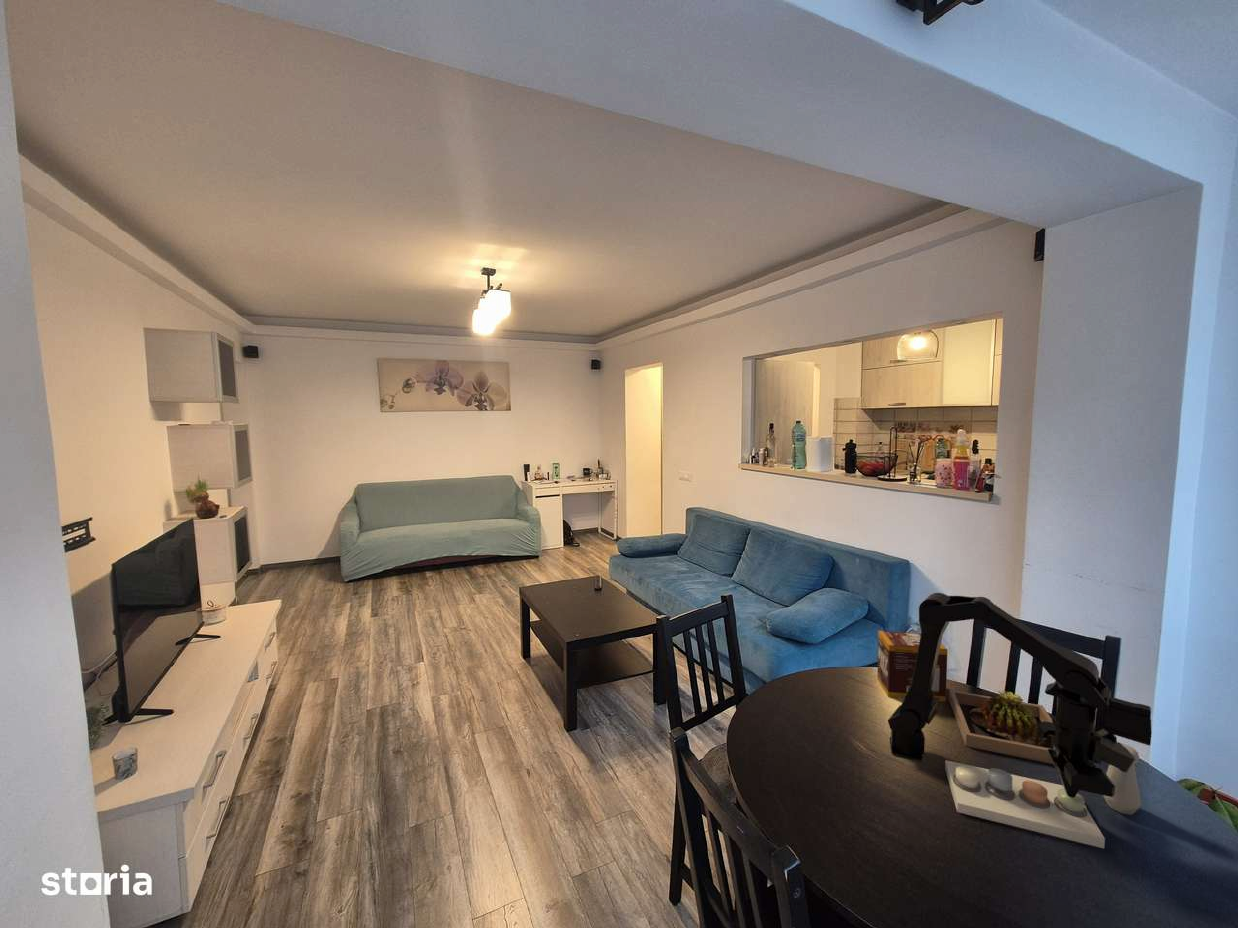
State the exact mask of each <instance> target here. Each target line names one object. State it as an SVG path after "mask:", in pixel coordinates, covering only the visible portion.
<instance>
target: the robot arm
mask: <svg viewBox="0 0 1238 928" xmlns="http://www.w3.org/2000/svg"><path fill="white" fill-rule="evenodd" d="M970 620H978V621H980V622H982V623H983V624H984V625H986V626H988V627H989V628H990V629H992V630H993V631H995V632H996V633H998V634H999V635H1000V636H1002V637H1004V638H1005V639H1006V640H1008V641H1009V642H1011V643H1012V645H1013V644H1014V645H1015V646H1016V647H1018V648H1019V649H1021V650H1023V652H1025V653H1027V654H1028V655H1030V656H1031V657H1032V658H1034V659H1035V660H1036V661H1037V662H1038V663H1039V664H1040V665H1041V666H1042V667H1043V669H1044V670H1045V671H1046V672H1047V674H1049V675H1050V677H1051V678H1053V679H1054V682H1051V683H1048V684H1047V685H1046V687H1045V690H1044V693H1045V695H1049V696H1052V697H1055V698H1056V713H1055V714H1056V715H1055V716H1052V717H1051V719H1052V722H1053V723H1051V722H1046V721H1043V722H1040V723H1039V724H1038V733H1039V736H1040V738H1042V739H1044V740H1046V739H1047V734H1049V735H1052V736H1051V745H1052V746H1053V747H1052V748H1050V749H1048V752H1049V754H1050V756H1051V759H1052V761H1053V763H1054V764H1053V765H1054V768H1055V770H1056V772H1057V775H1058V777H1059V780H1060V781H1061V785H1063V787H1064V789H1065V792H1066V794H1067V795H1068V796H1069V797H1075V796H1076V794H1077V793H1078V794H1079V791H1083V792H1087V793H1091V794H1097V795H1101V796H1103V795H1105V796H1109V797H1113V796H1114V795H1115V785H1114V784H1113V783H1112V781H1111V780H1110V779H1109V777H1108V776H1107V774H1106V773H1107V772H1105V771H1104V770H1102V768H1100V767H1099V768H1098V767H1096V765H1095V764H1099V765H1101V764H1102V761H1103V762H1104V763H1106V764H1108V765H1109V764H1110V765H1112V766H1114V767H1116V768H1118V769H1119V770H1120V771H1123V772H1125V773H1127V771H1128V770H1129V768H1130V767H1131V765H1132V764H1133V762H1134V761H1135V758H1134V757H1133V756H1132V754H1131V753H1130V752H1129V751H1128V750H1127V749H1126V748H1125V747H1124V746H1123V745H1122V744H1121V743H1122V742H1119V741H1118V740H1117V737H1120V738H1123V739H1127V740H1130V741H1133V742H1136V743H1140V744H1143V745H1146V746H1151V743H1152V733H1153V732H1152V719H1151V716H1152V707H1151V706H1149V705H1146V704H1142V703H1135V702H1130V701H1127V700H1123V699H1120V698H1116V697H1113V696H1112V691H1111V690H1110V689H1109V687H1108V686H1107V685H1106V683H1105V682H1104V680H1103V679H1102V678H1101V677H1100V672H1099V667H1098V665H1096V663H1095V662H1094V661H1092V659H1090V658H1088V657H1087V656H1084V655H1082V654H1080V653H1078V652H1077V651H1074V650H1072V649H1070V648H1068V647H1065V646H1061V645H1059V644H1056V643H1054V642H1052V641H1050V640H1049V639H1047V638H1046V637H1044V636H1042V635H1041V634H1040V633H1038V632H1036V631H1035V630H1033V629H1032V628H1031V627H1029V626H1027V625H1026V624H1025V623H1023V622H1022V621H1020V620H1019V619H1017V618H1016V617H1014V616H1013V615H1011V614H1010V613H1008V612H1006V611H1005V610H1004V609H1002V608H1001V607H999V606H997V605H996V604H994V603H993V602H992V601H991V599H989V598H987V597H985V596H964V595H947V594H945V593H942V592H933V593H932V594H930V595H929V596H927V597H925V599H924V600H923V601H922V602H921V603H920V604H919V606H918V625H919V627H920V633H921V637H920V642H919V647H918V652H917V657H916V662H915V667H914V672H913V678H912V683H911V687H910V689H909V691H908V693H907V695H906V696H905V698H903V701H902V703H901V704H900V705H898V707H897V708H896V710H895V711H893V714H892V715H891V716H889V718H888V719H887V724H888V726H889V729H890V737H889V744H890V752H891V754H892V755H895V756H899V757H904V758H908V759H913V760H918V761H923V760H924V757H923V755H924V754H925V745H926V743H925V741H926V737H925V734H924V732H923V729H924V728H926V725H927V724H928V725H930V724H931V722H932V720H933V719H934V718H935V716H936V714H937V713H938V710H937V705H938V703H939V702H940V701H939V698H938V697H934V696H933V694H932V684H933V679H934V674H935V670H936V665H937V660H938V655H939V650H940V645H941V644H942V641H943V636H944V634H945V631H946V630H947V628H948V626H949V623H950V622H961V621H970ZM1097 709H1098V710H1101V711H1100V726H1104V728H1102V729H1100V730H1098V731H1096V722H1097V721H1096V719H1097Z"/></svg>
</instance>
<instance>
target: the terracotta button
mask: <svg viewBox="0 0 1238 928" xmlns="http://www.w3.org/2000/svg"><path fill="white" fill-rule="evenodd" d="M1047 794H1048V791H1047V790H1046V788H1044V787H1043V786H1042V785H1040V784H1038V783H1035V782H1032V781H1024V782H1023V783H1022V795H1023V796H1024V797H1025V798H1026V799H1028V800H1029V801H1031V802H1033V803H1036V804H1046V803H1047Z"/></svg>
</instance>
